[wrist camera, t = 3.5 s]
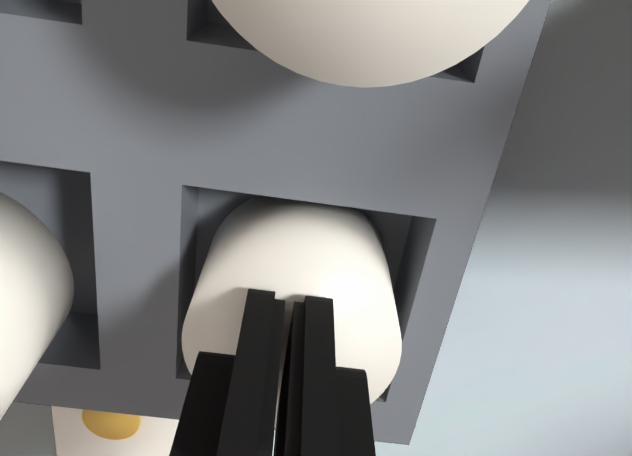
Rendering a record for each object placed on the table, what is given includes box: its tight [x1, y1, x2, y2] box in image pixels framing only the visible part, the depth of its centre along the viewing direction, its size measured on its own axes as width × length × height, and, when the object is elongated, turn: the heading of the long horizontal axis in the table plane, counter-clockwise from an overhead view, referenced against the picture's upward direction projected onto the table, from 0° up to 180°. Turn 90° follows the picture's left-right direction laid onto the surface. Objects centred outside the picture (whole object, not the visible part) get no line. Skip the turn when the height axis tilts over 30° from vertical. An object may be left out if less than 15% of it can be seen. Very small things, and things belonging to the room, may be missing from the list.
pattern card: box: [51, 406, 179, 456], centre depth 19 cm, size 7×6×1 cm
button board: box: [0, 0, 551, 445], centre depth 12 cm, size 14×16×3 cm
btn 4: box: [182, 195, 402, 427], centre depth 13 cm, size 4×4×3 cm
